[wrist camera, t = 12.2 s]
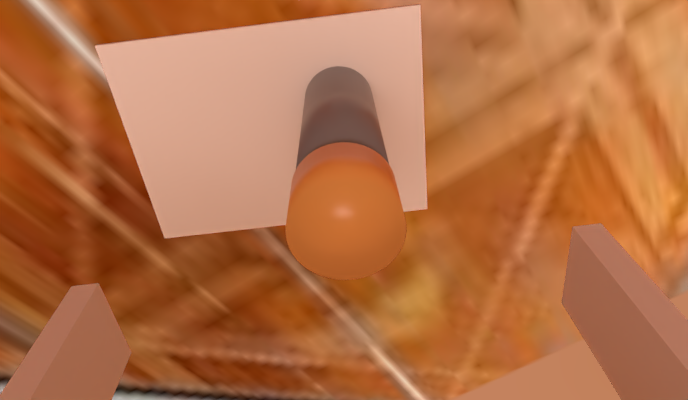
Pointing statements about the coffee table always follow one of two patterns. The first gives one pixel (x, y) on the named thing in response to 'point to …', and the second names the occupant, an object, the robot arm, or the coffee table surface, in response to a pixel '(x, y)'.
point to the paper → (259, 111)
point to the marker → (343, 183)
